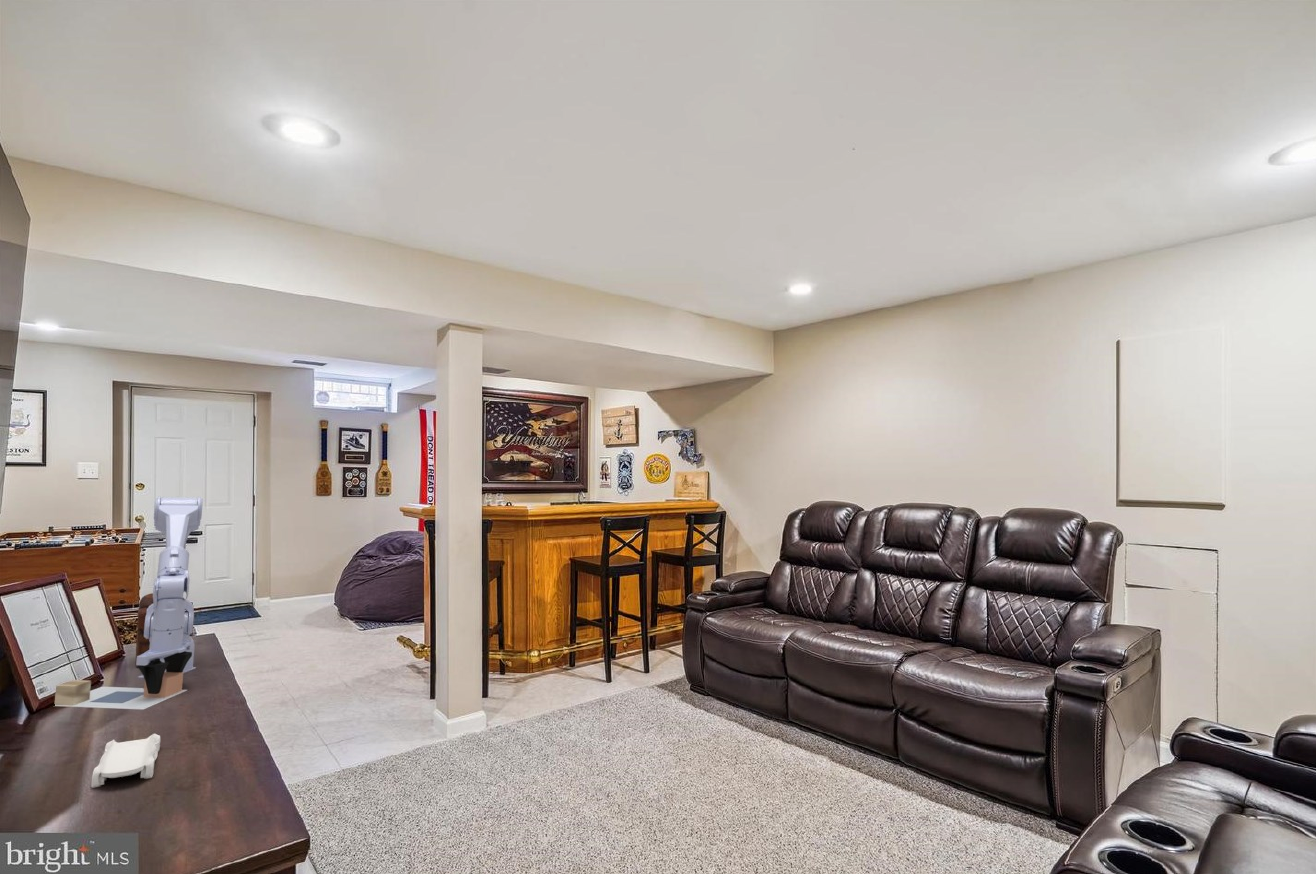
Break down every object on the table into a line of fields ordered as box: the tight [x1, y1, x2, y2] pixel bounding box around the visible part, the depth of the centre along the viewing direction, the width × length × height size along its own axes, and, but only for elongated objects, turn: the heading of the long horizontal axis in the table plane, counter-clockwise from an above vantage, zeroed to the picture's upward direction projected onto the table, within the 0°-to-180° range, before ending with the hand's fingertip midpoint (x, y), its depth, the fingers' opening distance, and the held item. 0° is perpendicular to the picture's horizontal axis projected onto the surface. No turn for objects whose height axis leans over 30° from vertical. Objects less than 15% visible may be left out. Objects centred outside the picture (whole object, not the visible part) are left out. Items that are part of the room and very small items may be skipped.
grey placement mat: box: [54, 686, 188, 710], centre depth 146 cm, size 13×20×1 cm, turn 89°
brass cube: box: [54, 679, 92, 706], centre depth 143 cm, size 4×4×4 cm
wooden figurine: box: [135, 592, 154, 669], centre depth 175 cm, size 12×6×18 cm, turn 36°
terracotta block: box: [143, 672, 184, 698], centre depth 150 cm, size 5×5×4 cm
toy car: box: [90, 733, 161, 789], centre depth 114 cm, size 18×8×4 cm, turn 33°
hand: (163, 689), depth 150 cm, fingers closed on terracotta block, 5 cm apart
